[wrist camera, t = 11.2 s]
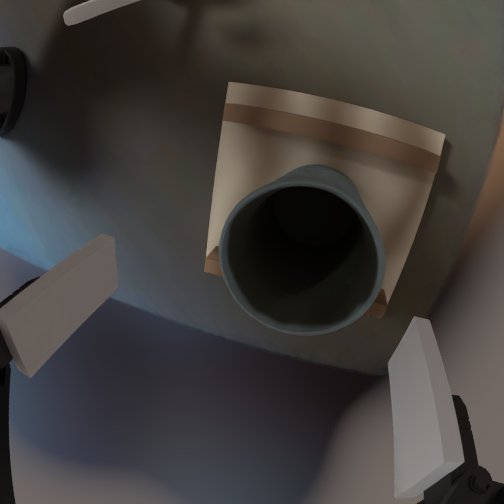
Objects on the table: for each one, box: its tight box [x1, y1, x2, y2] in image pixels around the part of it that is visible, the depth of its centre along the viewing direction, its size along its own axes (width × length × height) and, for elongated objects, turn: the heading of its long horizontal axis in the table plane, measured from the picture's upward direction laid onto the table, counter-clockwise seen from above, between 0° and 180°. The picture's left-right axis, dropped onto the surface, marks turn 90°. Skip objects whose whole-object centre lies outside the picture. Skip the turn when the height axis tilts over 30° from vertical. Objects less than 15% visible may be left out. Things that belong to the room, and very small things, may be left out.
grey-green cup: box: [218, 164, 386, 336], centre depth 23 cm, size 10×10×12 cm
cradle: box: [204, 82, 445, 318], centre depth 28 cm, size 20×20×4 cm
